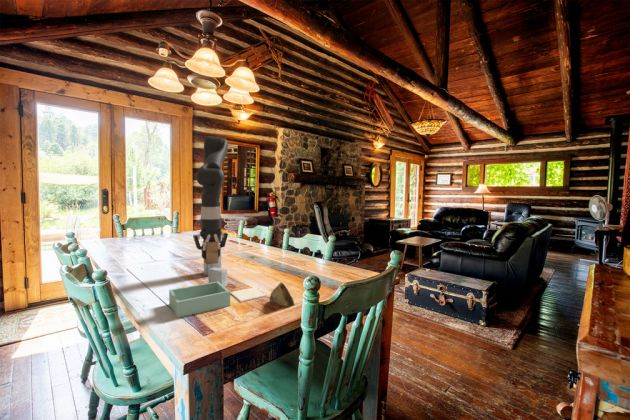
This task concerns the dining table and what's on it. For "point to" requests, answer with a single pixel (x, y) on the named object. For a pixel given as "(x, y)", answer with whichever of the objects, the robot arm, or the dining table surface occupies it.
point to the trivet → (248, 294)
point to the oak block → (211, 252)
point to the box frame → (198, 298)
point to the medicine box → (218, 275)
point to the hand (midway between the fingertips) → (210, 258)
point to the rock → (282, 296)
